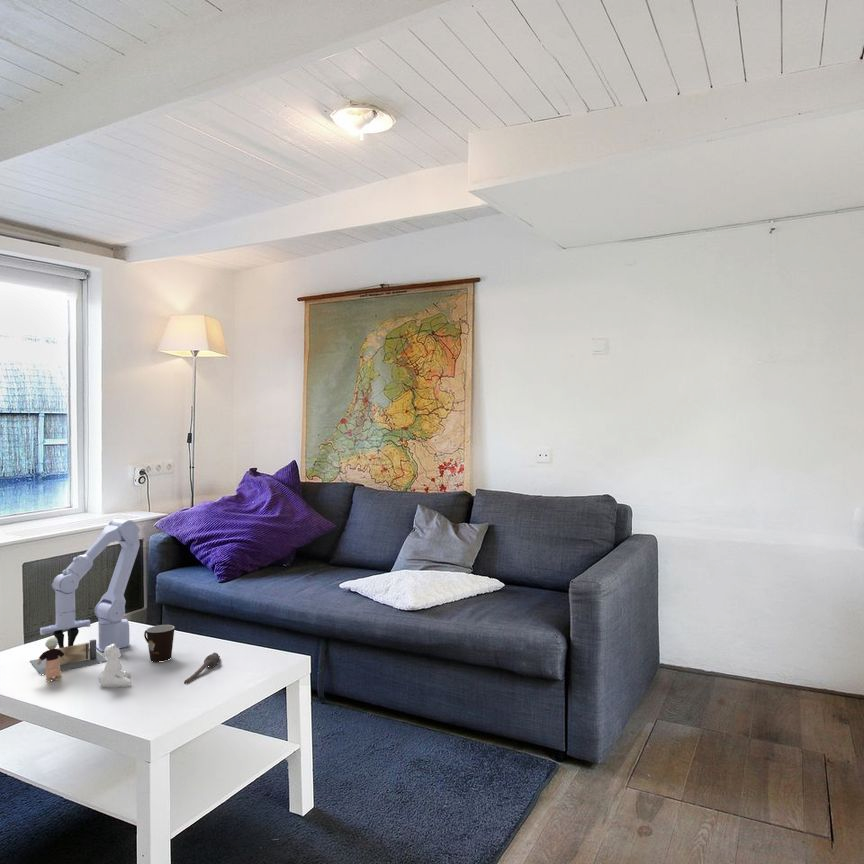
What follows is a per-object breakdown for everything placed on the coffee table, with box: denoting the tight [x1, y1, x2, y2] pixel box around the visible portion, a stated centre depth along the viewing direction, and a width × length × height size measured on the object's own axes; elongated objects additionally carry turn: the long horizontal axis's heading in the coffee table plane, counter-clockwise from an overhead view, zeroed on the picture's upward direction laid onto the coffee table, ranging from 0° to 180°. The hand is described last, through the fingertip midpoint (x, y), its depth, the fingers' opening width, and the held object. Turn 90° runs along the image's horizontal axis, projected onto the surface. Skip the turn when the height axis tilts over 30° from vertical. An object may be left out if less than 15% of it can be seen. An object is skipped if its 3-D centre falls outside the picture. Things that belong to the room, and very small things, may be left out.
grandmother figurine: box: [37, 636, 67, 682], centre depth 205 cm, size 8×4×13 cm, turn 134°
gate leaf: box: [57, 642, 90, 665], centre depth 218 cm, size 12×1×5 cm, turn 132°
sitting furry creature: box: [98, 644, 132, 689], centre depth 201 cm, size 10×9×12 cm
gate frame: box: [29, 639, 108, 676], centre depth 221 cm, size 19×17×7 cm
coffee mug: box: [143, 624, 175, 663], centre depth 224 cm, size 12×9×10 cm
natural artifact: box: [183, 652, 221, 685], centre depth 212 cm, size 4×23×4 cm, turn 165°
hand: (65, 652), depth 224 cm, fingers closed
